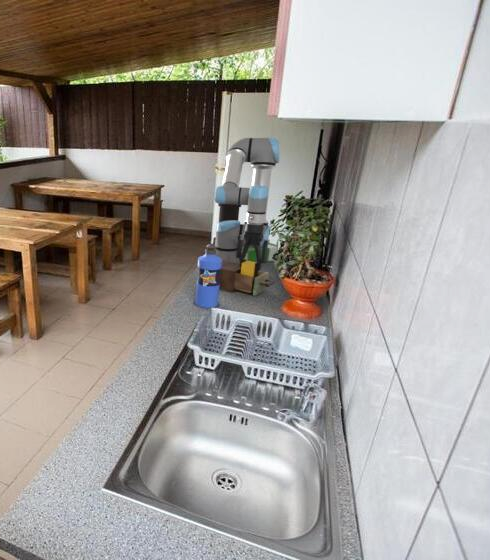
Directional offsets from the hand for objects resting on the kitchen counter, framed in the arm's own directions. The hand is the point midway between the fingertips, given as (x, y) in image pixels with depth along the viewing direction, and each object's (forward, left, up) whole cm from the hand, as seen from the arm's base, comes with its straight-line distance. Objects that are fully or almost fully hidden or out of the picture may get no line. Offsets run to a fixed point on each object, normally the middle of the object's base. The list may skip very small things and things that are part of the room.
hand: (249, 275), depth 186 cm
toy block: (0, 0, 0) cm, 0 cm away
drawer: (0, +2, -6) cm, 7 cm away
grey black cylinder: (-70, -47, -7) cm, 85 cm away
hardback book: (-40, -26, -3) cm, 48 cm away
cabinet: (0, -11, -7) cm, 13 cm away
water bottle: (+26, -6, -7) cm, 27 cm away
